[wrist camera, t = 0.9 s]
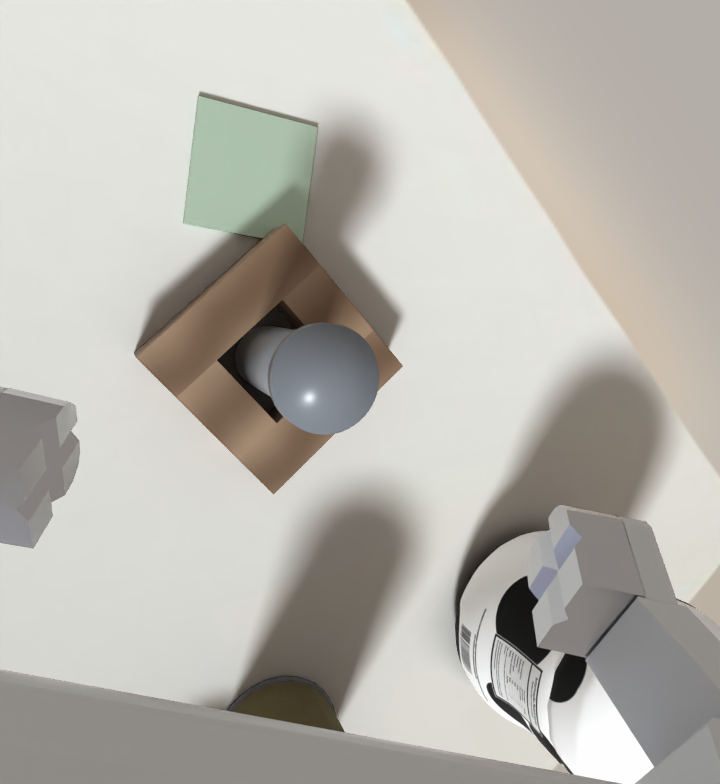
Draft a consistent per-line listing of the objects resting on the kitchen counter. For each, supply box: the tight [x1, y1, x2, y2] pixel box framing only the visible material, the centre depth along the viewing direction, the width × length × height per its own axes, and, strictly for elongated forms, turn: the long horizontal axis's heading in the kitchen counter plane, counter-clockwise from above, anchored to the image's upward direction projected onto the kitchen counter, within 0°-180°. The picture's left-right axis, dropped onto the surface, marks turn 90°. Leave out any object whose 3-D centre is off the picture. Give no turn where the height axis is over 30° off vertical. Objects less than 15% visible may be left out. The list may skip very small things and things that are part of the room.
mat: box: [183, 96, 318, 243], centre depth 49 cm, size 9×9×1 cm
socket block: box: [134, 224, 403, 494], centre depth 50 cm, size 14×14×4 cm
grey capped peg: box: [235, 323, 379, 435], centre depth 44 cm, size 6×6×15 cm
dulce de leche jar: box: [455, 531, 720, 784], centre depth 55 cm, size 17×17×18 cm
